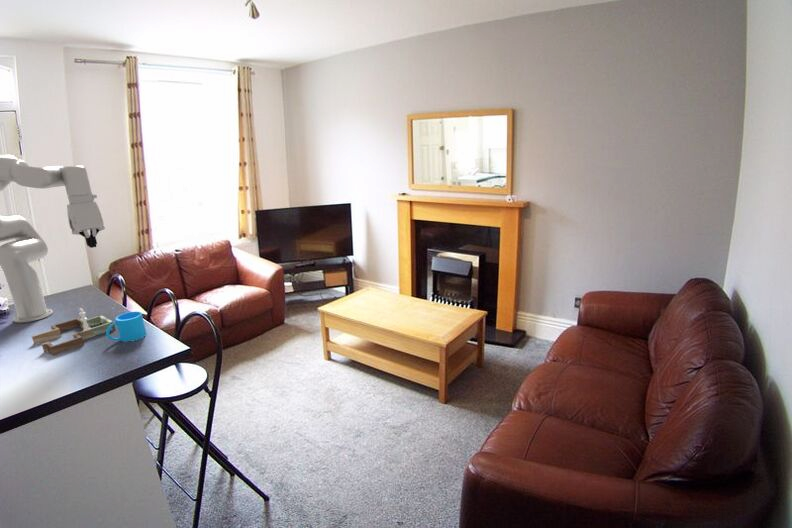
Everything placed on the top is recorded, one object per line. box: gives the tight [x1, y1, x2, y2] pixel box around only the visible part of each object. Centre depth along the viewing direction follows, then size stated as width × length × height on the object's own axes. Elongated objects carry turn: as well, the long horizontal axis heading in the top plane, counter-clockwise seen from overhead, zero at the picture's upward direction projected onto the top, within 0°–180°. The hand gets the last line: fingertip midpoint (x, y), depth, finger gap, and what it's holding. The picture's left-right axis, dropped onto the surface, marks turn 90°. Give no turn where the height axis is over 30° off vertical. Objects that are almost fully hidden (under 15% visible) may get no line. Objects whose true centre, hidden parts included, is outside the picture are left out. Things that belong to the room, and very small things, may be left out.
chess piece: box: [78, 307, 91, 331], centre depth 162 cm, size 5×5×10 cm
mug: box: [105, 311, 147, 342], centre depth 156 cm, size 12×8×8 cm
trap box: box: [31, 314, 116, 356], centre depth 160 cm, size 22×22×3 cm
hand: (92, 246), depth 170 cm, fingers closed
